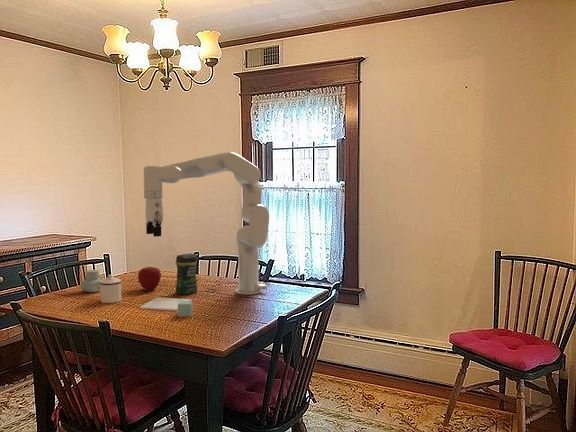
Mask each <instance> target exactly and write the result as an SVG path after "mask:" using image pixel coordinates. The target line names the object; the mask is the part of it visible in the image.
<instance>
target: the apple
mask: <svg viewBox="0 0 576 432" xmlns="http://www.w3.org/2000/svg"><path fill="white" fill-rule="evenodd" d="M161 272H162V271H160V269H159V268H157V267H152V266H150V265H149V266H148V267H143V268H141V269H140V270H139V271H138V276H137V278H138V282H139V284H140V286H141V287H142V288H143V289H144V290H145V291H148V292H149V291H153V290H155V289H156V288H157V287H158V286H159V284H160V281H161V278H162V277H161V276H162V273H161Z"/></svg>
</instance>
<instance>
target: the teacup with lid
mask: <svg viewBox="0 0 576 432" xmlns="http://www.w3.org/2000/svg"><path fill="white" fill-rule="evenodd" d="M99 293H100V302H101V303H102V304H114V303H115V304H116V303H119V302H121V301H122V280H121V278H117V277H114V275H113V274H108V275H107V277H105V278H103V279H101V281H100V285H99Z"/></svg>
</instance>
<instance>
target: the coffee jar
mask: <svg viewBox="0 0 576 432" xmlns="http://www.w3.org/2000/svg"><path fill="white" fill-rule="evenodd" d="M175 259H176V260H175V265H176V269H177V272H176V284H175V293H177V294H178V295H189V294H190V295H191V294H195V293H197V292H198V283H197V282H198V281H197V272H196V271H197V264H198V259H197V254H194V253H184V254H178V255H176V258H175Z"/></svg>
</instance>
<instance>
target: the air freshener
mask: <svg viewBox="0 0 576 432" xmlns="http://www.w3.org/2000/svg"><path fill="white" fill-rule="evenodd" d="M101 280H102V279H101V278H100V271H99V270H98V269H89V270H86V271H85V279H84V280H83V281H81V283H80V289H81V290H82V291H83V292H86V293H90V294H91V293H92V294H93V293H100V291H99V285H100V281H101Z"/></svg>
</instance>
